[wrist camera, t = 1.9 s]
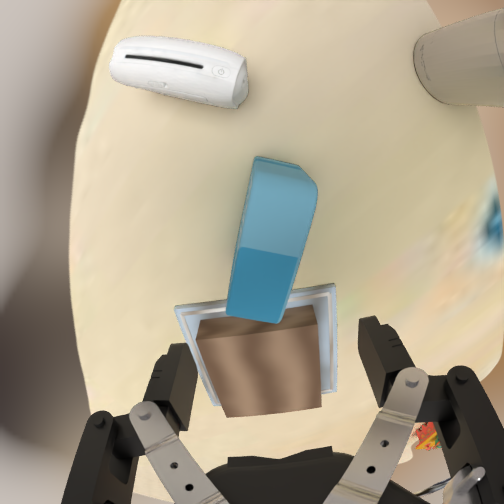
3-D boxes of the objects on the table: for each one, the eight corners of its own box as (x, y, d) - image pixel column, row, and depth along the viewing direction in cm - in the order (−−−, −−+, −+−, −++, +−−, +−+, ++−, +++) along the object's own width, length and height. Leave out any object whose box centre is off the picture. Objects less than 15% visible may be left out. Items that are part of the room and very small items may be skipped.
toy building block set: (346, 473, 60) (354, 517, 47) (439, 394, 47) (464, 447, 34) (381, 472, 62) (390, 512, 49) (469, 396, 49) (493, 441, 36)
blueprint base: (334, 283, 36) (343, 305, 32) (335, 387, 44) (341, 410, 40) (175, 305, 38) (166, 328, 33) (213, 402, 46) (210, 425, 41)
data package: (255, 154, 30) (254, 172, 19) (298, 163, 30) (322, 188, 19) (233, 258, 35) (223, 323, 24) (272, 266, 35) (278, 332, 24)
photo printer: (255, 75, 27) (254, 45, 15) (242, 114, 28) (233, 107, 17) (159, 55, 25) (108, 25, 14) (148, 92, 27) (90, 81, 16)
